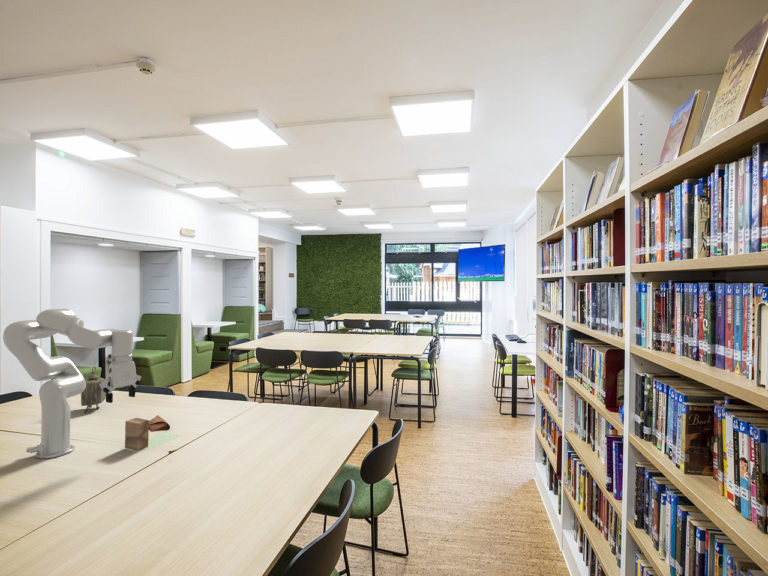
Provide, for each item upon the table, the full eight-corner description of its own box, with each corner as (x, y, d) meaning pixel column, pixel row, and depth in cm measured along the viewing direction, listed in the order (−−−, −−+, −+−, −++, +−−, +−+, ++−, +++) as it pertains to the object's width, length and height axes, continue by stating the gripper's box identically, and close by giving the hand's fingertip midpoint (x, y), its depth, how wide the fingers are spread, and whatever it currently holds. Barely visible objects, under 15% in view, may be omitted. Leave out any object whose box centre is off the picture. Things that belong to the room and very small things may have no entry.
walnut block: (137, 451, 169) (138, 423, 169) (124, 448, 172) (125, 421, 172) (148, 447, 174) (148, 420, 174) (135, 444, 177) (136, 417, 177)
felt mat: (137, 453, 168) (137, 452, 168) (120, 449, 172) (120, 448, 172) (181, 436, 188) (181, 435, 188) (164, 433, 192) (164, 432, 192)
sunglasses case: (141, 424, 204) (149, 411, 207) (154, 428, 208) (161, 416, 211) (151, 433, 192) (159, 420, 194) (164, 437, 196) (172, 424, 198)
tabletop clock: (87, 407, 232) (88, 365, 233) (105, 405, 236) (106, 364, 236) (80, 414, 219) (81, 369, 219) (100, 412, 223) (101, 368, 223)
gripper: (107, 363, 157) (105, 406, 157) (147, 357, 173) (146, 395, 173) (94, 361, 160) (93, 403, 160) (135, 355, 176) (134, 393, 176)
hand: (120, 399), depth 166 cm, fingers open, 9 cm apart
